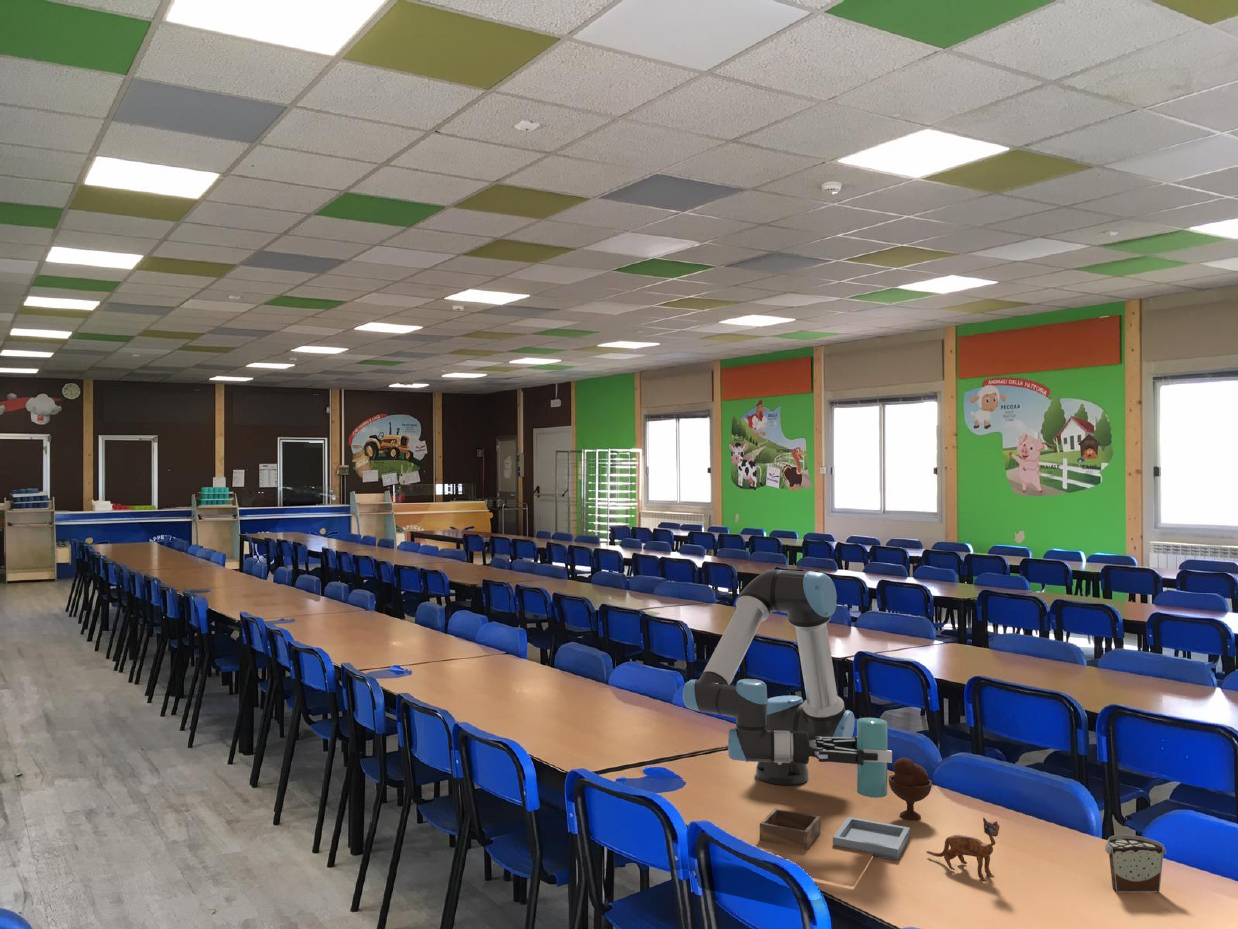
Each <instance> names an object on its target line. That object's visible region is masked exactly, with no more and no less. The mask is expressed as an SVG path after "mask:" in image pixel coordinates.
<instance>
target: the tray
mask: <svg viewBox="0 0 1238 929" xmlns="http://www.w3.org/2000/svg"><path fill="white" fill-rule="evenodd" d="M910 839H911V827H908V826H902V825H896V824H890V823H885V822H880V821H874V820H869V819H863V818H857V817H851V816H847V818H846V819H845V820H844V822H843V823H842V825H841V826H840V827H839V828H838V829H837V831H836V832H835V833H834V835H833V836H832V846H834V847H840V848H844V849H849V850H855V851H860V852H865V853H870V854H872V856H874V857H878V856H879V858H884V859H890V860H893V859H894V860H895V861H899V860H900V857H901V856H900V855H902V854H903V852H904V850H905V848H906V847H907V844H908V843H909V841H910Z"/></svg>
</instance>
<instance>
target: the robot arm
mask: <svg viewBox="0 0 1238 929" xmlns="http://www.w3.org/2000/svg"><path fill="white" fill-rule="evenodd" d="M837 597H838V596H837V590H836V585H835V583H834V581H833V580H832V578H831V577H830V576H829V575H827V574H826V573H823V572H816V571H813V570H808V571H803V570H802V571H800V570H790V569H789V570H788V569H787V570H786V569H770V570H768V571H765V572H763V573H760V574H759V575H758V576H756V577H755V578H754V579H752V580H751V581H750V582H749V583H748V584H747V585H746V586H745V587H744V588H743V590H742V591H741V592H740V594H739V595H738V597H737V599H736V601H735V607H736V609H735V611H734V612H733V615H732V617H731V618H730V621H729V623H728V624H727V626H726V628H725V630H724V632H723V634H722V636H721V638H720V640H719V641H718V643H717V645H716V646H715V649H714V651H713V653H712V655H711V657H710V658H709V661H708V662H707V664H706V665H705V668H704V670H703V672H702V673H701V675H700V677H699V679H689V681H688V680H687V681H686V683H685V684H684V686H683V689H682V701H683V704H684V705H685V707H686V708H687V709H688V710H689V709H690V710H692V711H696V712H700V713H707V714H713V715H720V716H723V717H725V716H726V717H731V718H735V721H736V722H735V724H736V725H735V727H734V728H730V729H728V731H727V732H728V734H727V739H728V740H727V744H728V746H727V755H728V758H729V759H730V760H733V761H740V762H746V763H749V762H750V763H752V762H753V763H757V764H756V768H755V777H756V778H757V779H759V780H760V781H763V782H765V783H769V784H773V785H780V786H781V785H782V786H784V785H785V786H793V785H800V784H804V783H806V782H807V781H808V780H809V768H808V764H809V761H810V757H812V758H816V759H817V760H818V762H820V763H838V764H839V763H840V764H850V765H851V764H852V765H857V764H860V765H864V762H884V763H887V764H888V763H889V764H890V763H891V764H893V751H892V750H889V749H887V750H872V749H863V751H862V750H857V735H855V736H854V737H853V735H854V730H855V723H856V722H855V721H856V720H855V715H854V712H853V711H851V710H850V709H846V708H845V702H844V700H843V699H842V697H840V696H839V695H838V691H837V685H836V678H835V677H836V676H835V671H834V670H835V669H834V664H833V659H832V652H831V645H830V638H829V631H828V625H827V624H828V623H829V622H830V621H831V618H832V616H833V615H834V614H835V611H836V609H837V606H838V605H837V600H838V598H837ZM775 612H778V613H786V614H787V620H788V624H789V625H791V626H792V627H794V628H795V634H796V639H797V647H798V653H799V659H800V666H801V672H802V678H803V683H804V690H805V696H806V697H805V698H806V699H805V700H803V697H801V696H799V695H780V696H773V697H770V698H768V690H767V689H768V688H767V684H766V683H765V682H764V680H761V679H754V678H743V679H739V680H738V681H736V685H731V683H732V682H733V679H734V678H735V675H736V674H737V671H738V669H739V667H740V665H741V664H742V661H743V660H744V658H745V656H746V653H747V651H748V649H749V648H750V645H751V644H752V641H753V639H754V637H755V636H756V633H757V631H758V629H759V627H760V625H761V624H762V622H765V621H766V620H767V619H768V618H769V616H770V615H771V614H772V613H775Z"/></svg>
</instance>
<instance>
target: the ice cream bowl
mask: <svg viewBox="0 0 1238 929" xmlns="http://www.w3.org/2000/svg"><path fill="white" fill-rule="evenodd" d="M893 773H894V774H892V775H889V777H888V784H889V788H890V789H891V791H892V793H894V795H895V796H897V797H898V798H900V800H903V801H905V803H906V809H905V810H903V811H901V812H900V813H899V818H901V819H902V820H905V821H909V822H918V821H920V820H922V816H921V814H919V812H917V811H915V810H914V809H915V808H914V807H915V806H914V805H915V803H916V802H917V803H918V802H920V801H922V800H924V799H925V798H927V797H928V796H929V795H930V793H931V790H932V786H933V780H931V779H929V776H928V772H927V770H926V769H925V768H924V766H922V765H920V764H918V763H915V762H914V761H913V760H912V759H911V758H908V757H900V758H898V759H896V760H895V762H894V763H893Z"/></svg>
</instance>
